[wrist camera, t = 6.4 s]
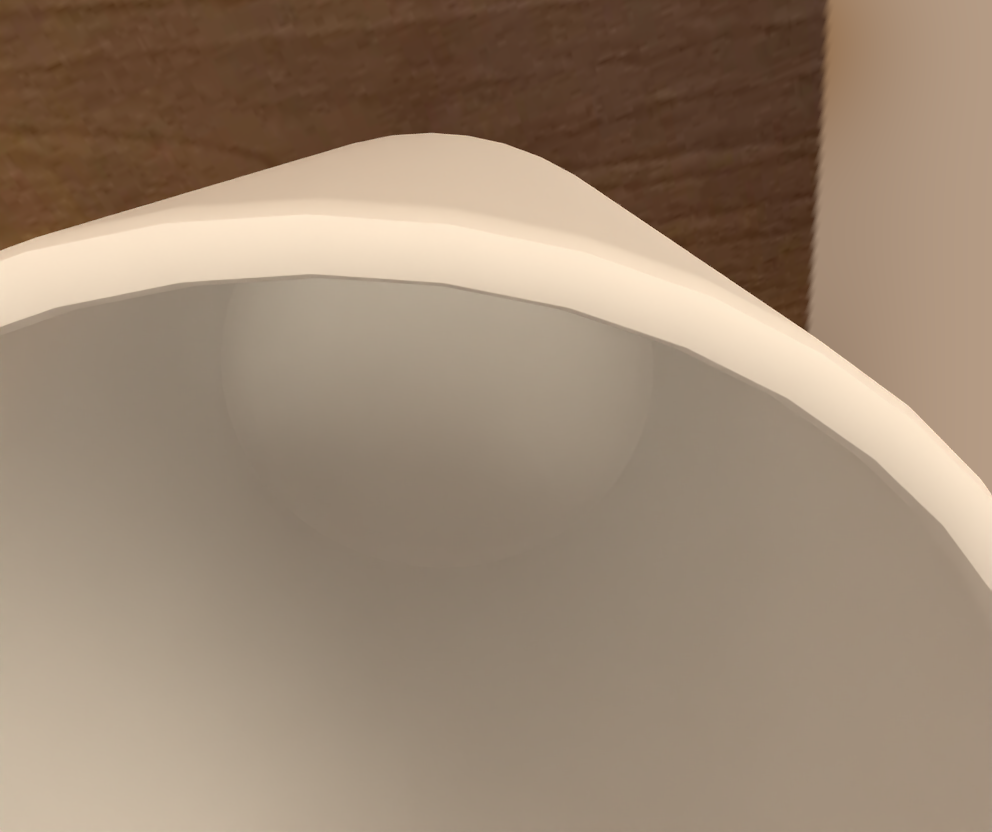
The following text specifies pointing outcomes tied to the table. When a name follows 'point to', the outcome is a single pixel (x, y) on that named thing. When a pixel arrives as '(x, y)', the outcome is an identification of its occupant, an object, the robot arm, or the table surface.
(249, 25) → the table surface
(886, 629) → the mug
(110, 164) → the table surface
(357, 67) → the table surface
